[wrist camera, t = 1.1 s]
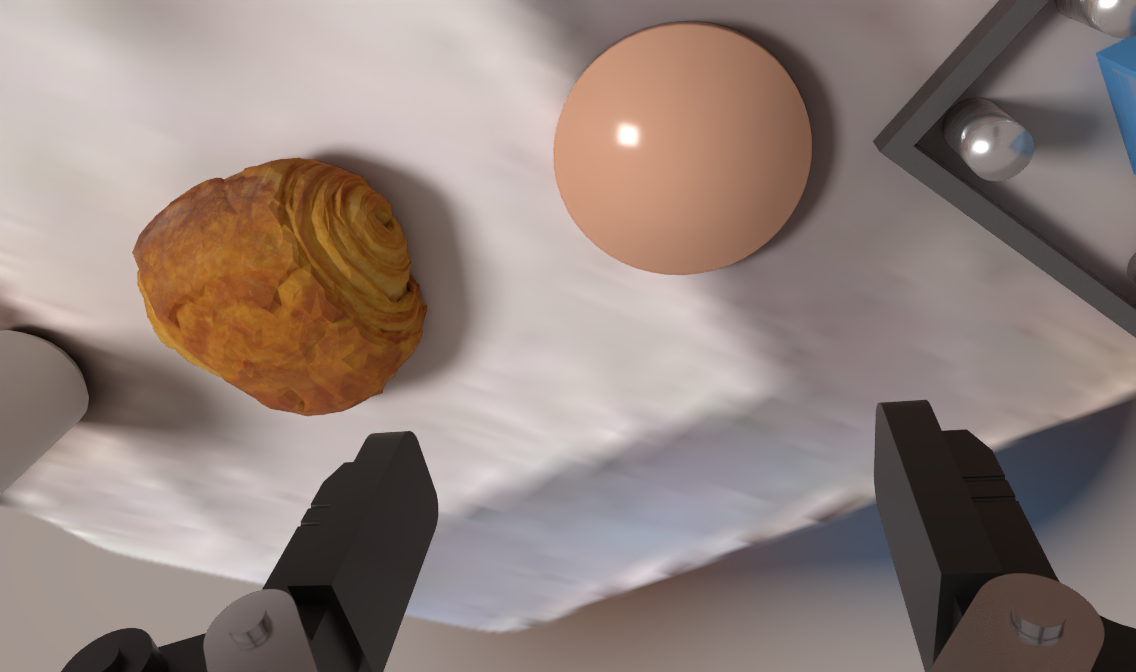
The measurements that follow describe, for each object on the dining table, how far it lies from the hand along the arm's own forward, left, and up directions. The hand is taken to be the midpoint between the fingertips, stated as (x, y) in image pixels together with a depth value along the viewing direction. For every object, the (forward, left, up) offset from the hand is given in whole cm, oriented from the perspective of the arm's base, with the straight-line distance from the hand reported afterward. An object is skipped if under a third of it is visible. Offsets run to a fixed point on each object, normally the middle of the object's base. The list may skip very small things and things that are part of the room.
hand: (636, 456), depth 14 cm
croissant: (+20, -10, -27) cm, 35 cm away
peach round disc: (+2, +3, -27) cm, 27 cm away
